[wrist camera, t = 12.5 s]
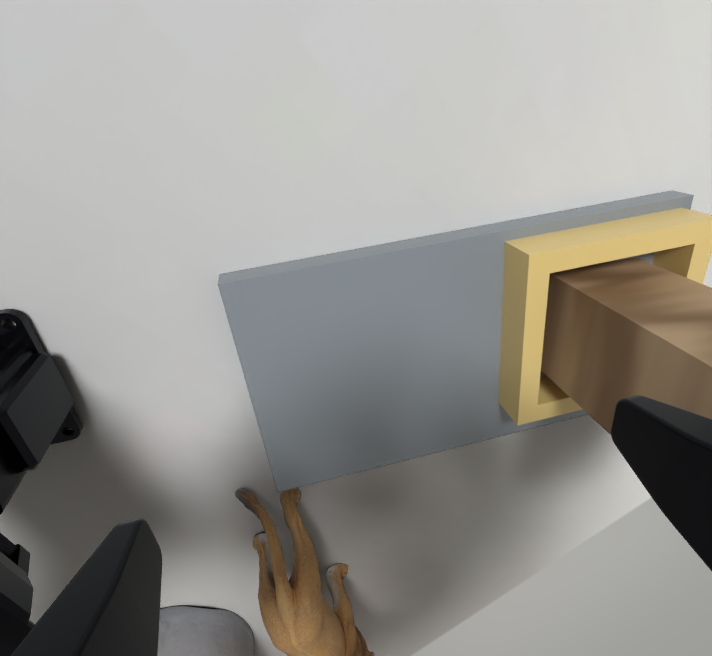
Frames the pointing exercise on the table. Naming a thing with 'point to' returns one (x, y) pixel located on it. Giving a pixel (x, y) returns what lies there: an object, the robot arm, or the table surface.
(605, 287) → the walnut column
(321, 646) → the lion figurine
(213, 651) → the pillar candle
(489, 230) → the base board
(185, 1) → the table surface
